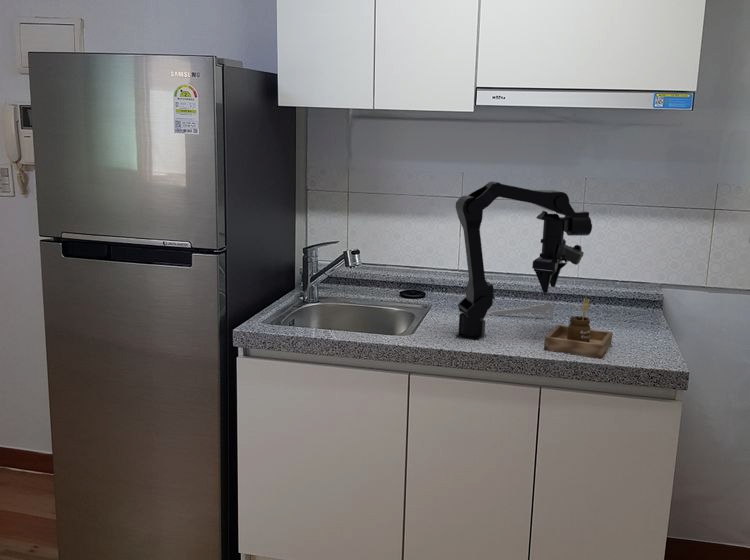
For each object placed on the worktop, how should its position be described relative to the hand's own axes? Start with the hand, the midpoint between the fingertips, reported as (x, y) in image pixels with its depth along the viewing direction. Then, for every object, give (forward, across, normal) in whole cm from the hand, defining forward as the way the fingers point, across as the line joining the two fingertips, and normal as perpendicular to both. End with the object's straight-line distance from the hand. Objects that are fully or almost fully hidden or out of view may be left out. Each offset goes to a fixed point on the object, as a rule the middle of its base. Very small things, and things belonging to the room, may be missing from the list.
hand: (549, 289), depth 208 cm
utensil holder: (+12, -9, -11) cm, 18 cm away
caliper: (+14, +16, +12) cm, 24 cm away
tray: (+13, -9, -11) cm, 19 cm away
